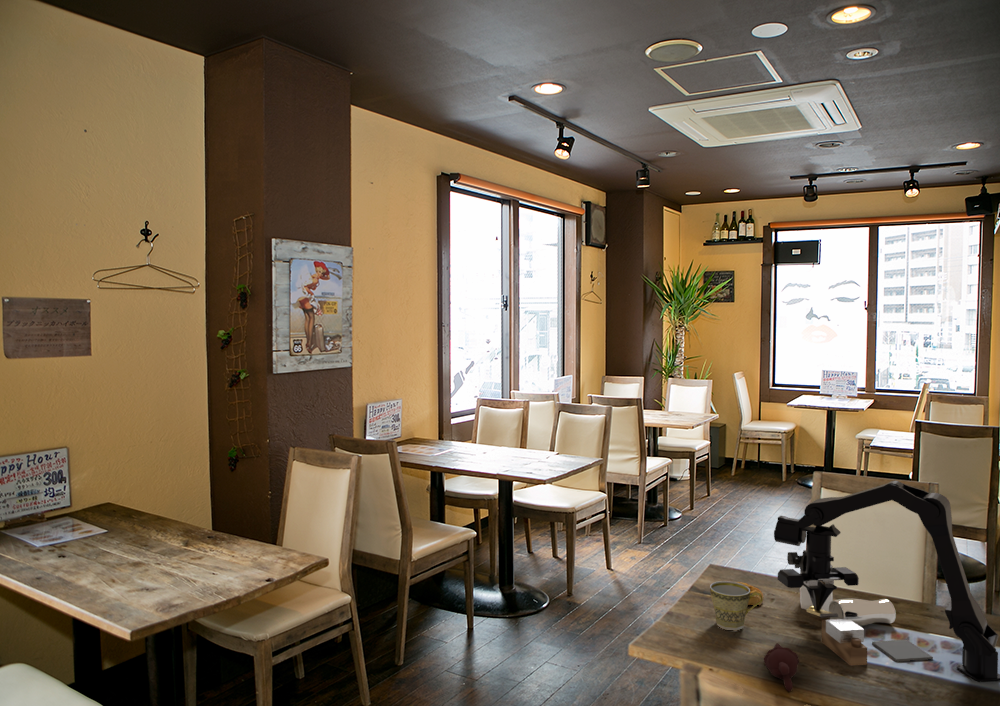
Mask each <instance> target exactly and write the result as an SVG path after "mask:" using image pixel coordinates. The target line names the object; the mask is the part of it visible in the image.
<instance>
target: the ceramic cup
mask: <svg viewBox="0 0 1000 706" xmlns="http://www.w3.org/2000/svg"><path fill="white" fill-rule="evenodd" d="M736 582H737V581H727V580H726V581H725V580H720V581H714V582H712V583H710V585H709V591H710V598H711V601H712V605H713V608H714V615H715V622H716V626H717V625H718V626H720V627H722V628H724V629H727V630H739V629H742V628H743V629H744V625H745V620H746V615H748V613H750V611H752V610H753V609H755V607H757V605H758V604H760V603H761V602H762V596H761V594H760V593H758V592H753V593H751V594H750V589H749V588H748V587H747V586H745V585H743V584H740V583H736ZM755 595H759V596H760V597H761V600H760V601H759V602H758V603H756V604H755V605H753V606H750V608H748V602H749V600H750V599H751V597H752V596H755ZM762 603H763V602H762ZM743 629H742V630H743ZM739 631H740V630H739Z"/></svg>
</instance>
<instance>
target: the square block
mask: <svg viewBox="0 0 1000 706" xmlns="http://www.w3.org/2000/svg"><path fill="white" fill-rule="evenodd" d="M826 633H828V634H829V635H830V636H831V637H833V638H834V639H835V640H837V641H838V642H839V643H851V638H859V639H861V643H864V642H865V629H864V628H863V627H862V626H859V625H857V624H856V623H854V622H853V621H851V620H850V619H832V620H826Z"/></svg>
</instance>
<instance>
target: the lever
mask: <svg viewBox="0 0 1000 706" xmlns="http://www.w3.org/2000/svg"><path fill="white" fill-rule="evenodd" d="M806 613H809V614H811V615H815V616H818V617H820V618H821V619H827V618H828V619H829V618H830V617H838V614H837V613H831V612H828V611H825V610H822V609H820V610H818V611H816V610H815V609H814V607H813V606H810V607H809V608H808V609H807V610H806Z"/></svg>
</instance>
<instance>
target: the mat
mask: <svg viewBox="0 0 1000 706" xmlns="http://www.w3.org/2000/svg"><path fill="white" fill-rule="evenodd" d="M871 645H872V646H873V647H876V648H877V649H878V650H880V651H881V652H882V653H884V654H885V655H886V656H888V657H889V658H891V659H892V660H893V661H894V662H896V663H897V662H898V663H899V661H900V662H911V661H910V660H916V661H928V659H932V660H934V659H933V658H934V657H933V656H932V655H931V654H929V653H928V652H926V651H924V650H923V649H922V648H920V647H919V646H917V645H915V644H914V643H913V642H911V641H910V640H908V639H895V640H879V641H876V640H875V641H871Z"/></svg>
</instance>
